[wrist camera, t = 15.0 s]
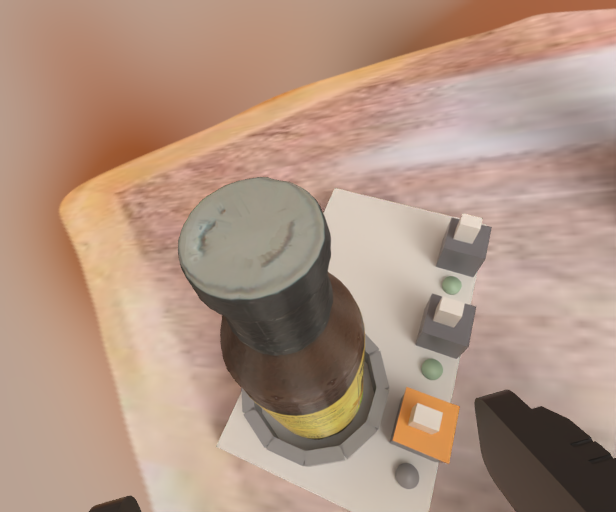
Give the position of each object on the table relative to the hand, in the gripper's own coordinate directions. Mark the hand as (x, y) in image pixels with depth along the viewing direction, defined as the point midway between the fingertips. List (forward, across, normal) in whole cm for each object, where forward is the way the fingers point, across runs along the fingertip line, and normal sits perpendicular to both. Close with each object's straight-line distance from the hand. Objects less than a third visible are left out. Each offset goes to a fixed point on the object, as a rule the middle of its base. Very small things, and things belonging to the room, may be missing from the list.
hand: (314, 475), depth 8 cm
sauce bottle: (+16, 0, +9) cm, 19 cm away
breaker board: (+20, -5, +8) cm, 22 cm away
